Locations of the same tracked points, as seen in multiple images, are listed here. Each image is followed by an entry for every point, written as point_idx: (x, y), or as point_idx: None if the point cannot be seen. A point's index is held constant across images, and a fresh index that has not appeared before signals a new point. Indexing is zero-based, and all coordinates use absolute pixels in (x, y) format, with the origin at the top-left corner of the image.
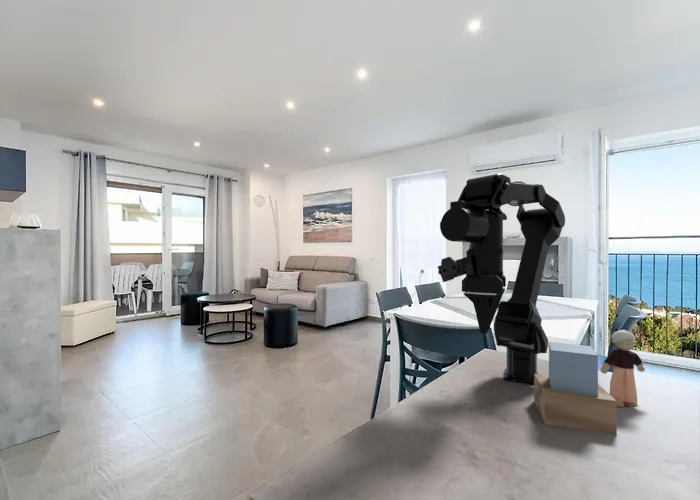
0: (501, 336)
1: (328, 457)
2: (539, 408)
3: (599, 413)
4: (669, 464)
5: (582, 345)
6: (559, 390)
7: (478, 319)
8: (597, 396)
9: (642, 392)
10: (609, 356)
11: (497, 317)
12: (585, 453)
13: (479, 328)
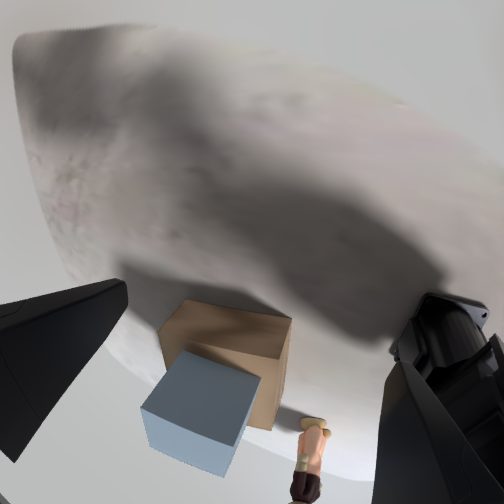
0: (465, 371)
1: (39, 36)
2: (232, 312)
3: None
4: (149, 374)
5: (223, 472)
6: None
7: (53, 298)
8: None
9: (365, 457)
10: (295, 483)
11: (490, 424)
12: (128, 311)
13: (96, 282)
